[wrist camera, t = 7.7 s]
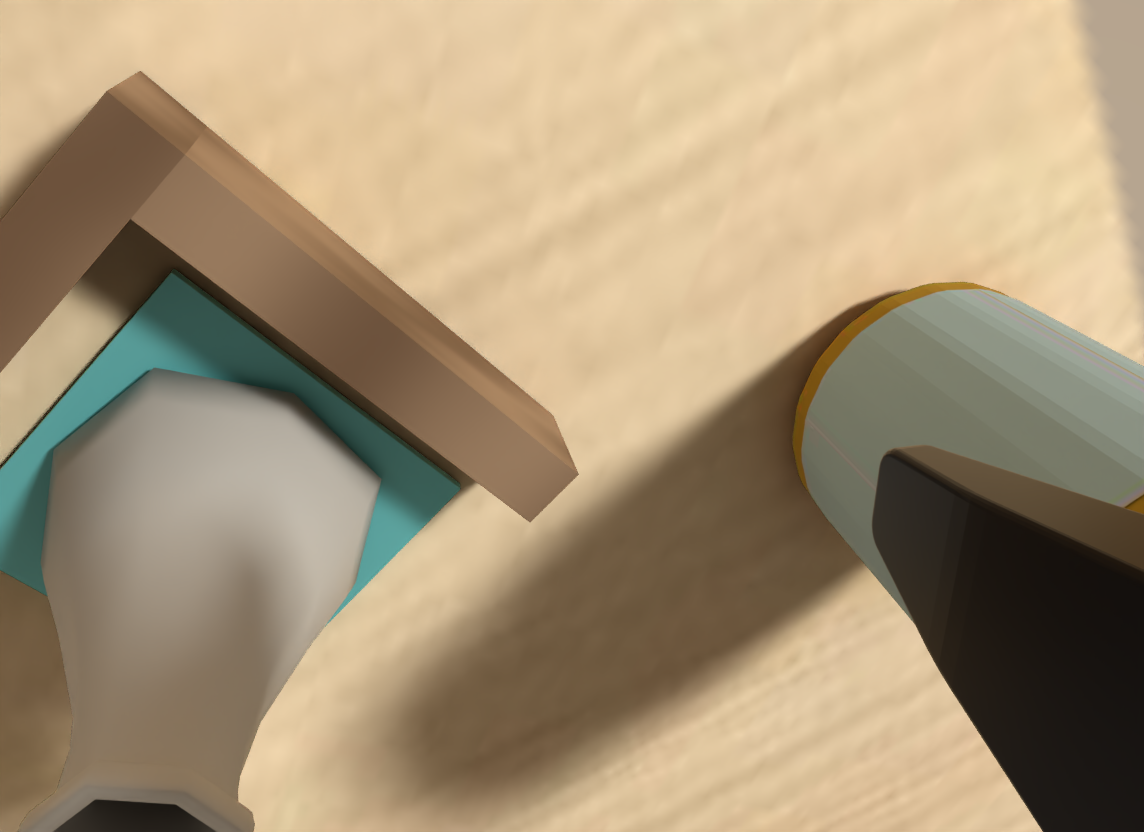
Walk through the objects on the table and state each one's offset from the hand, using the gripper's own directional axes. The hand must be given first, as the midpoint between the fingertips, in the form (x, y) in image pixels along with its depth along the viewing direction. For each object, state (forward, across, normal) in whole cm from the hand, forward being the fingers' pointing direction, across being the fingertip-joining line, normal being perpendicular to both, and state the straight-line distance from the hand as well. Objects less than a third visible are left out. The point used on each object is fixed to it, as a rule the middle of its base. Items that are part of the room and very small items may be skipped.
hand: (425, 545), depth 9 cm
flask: (+13, +4, +7) cm, 16 cm away
